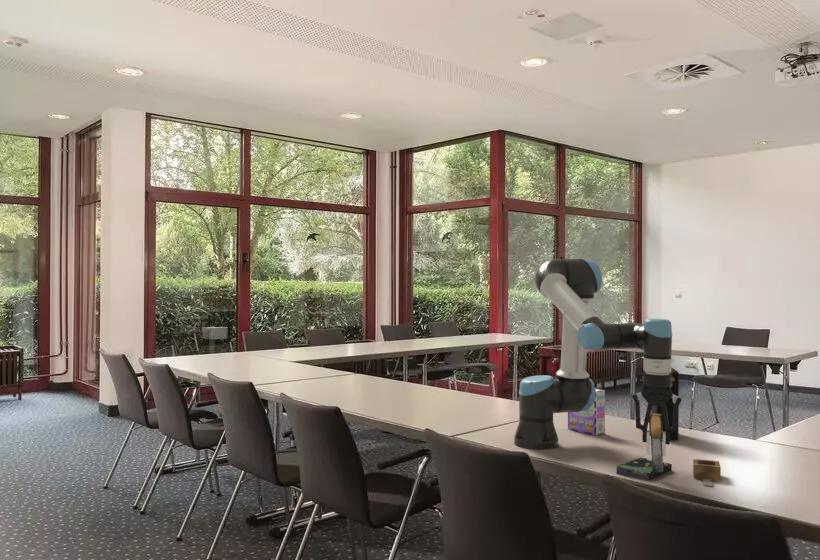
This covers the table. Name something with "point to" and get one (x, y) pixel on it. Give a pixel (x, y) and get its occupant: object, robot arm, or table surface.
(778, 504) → the table surface
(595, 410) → the candy box
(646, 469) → the disk drive
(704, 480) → the joist stripe
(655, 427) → the tan and gray bar
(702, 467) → the socket
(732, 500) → the table surface
